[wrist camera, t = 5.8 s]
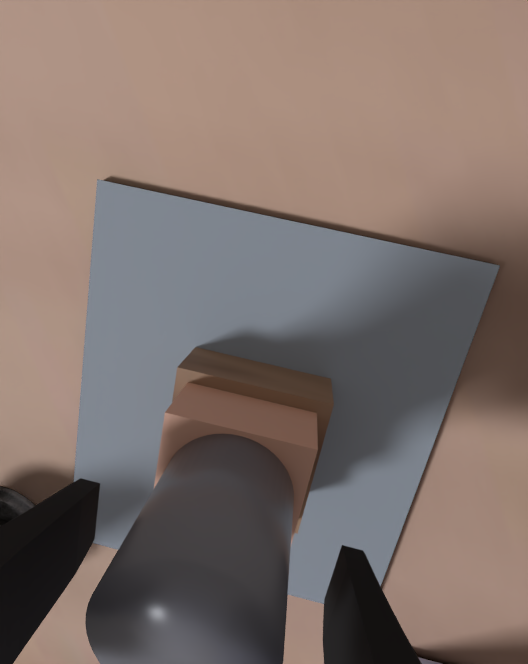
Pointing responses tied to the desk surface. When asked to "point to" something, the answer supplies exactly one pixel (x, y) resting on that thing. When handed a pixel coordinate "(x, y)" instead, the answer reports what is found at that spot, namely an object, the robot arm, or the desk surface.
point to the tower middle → (243, 431)
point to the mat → (273, 355)
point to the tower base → (261, 387)
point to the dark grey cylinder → (202, 563)
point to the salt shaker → (12, 505)
